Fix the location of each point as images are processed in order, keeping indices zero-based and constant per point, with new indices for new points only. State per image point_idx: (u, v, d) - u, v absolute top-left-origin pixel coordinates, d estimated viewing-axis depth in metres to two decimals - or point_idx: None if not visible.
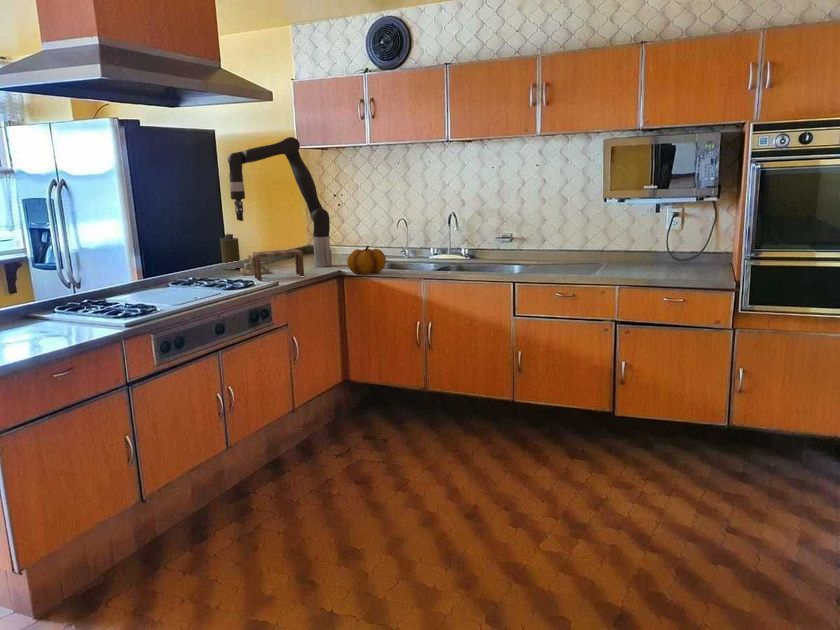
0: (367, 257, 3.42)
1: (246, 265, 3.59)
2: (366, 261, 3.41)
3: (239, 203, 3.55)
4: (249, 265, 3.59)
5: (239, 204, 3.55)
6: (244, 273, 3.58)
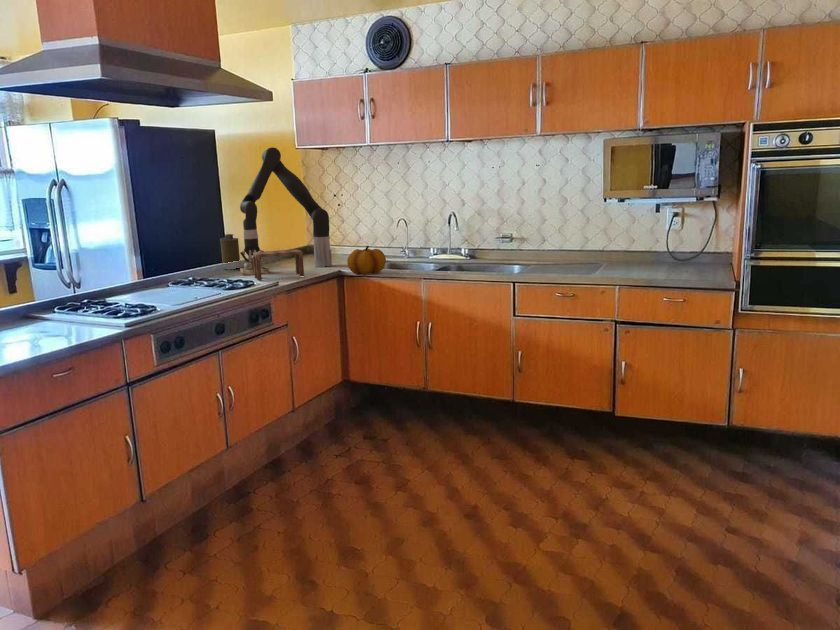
0: (367, 257, 3.42)
1: (246, 265, 3.59)
2: (366, 261, 3.41)
3: None
4: (249, 265, 3.59)
5: None
6: (244, 273, 3.58)
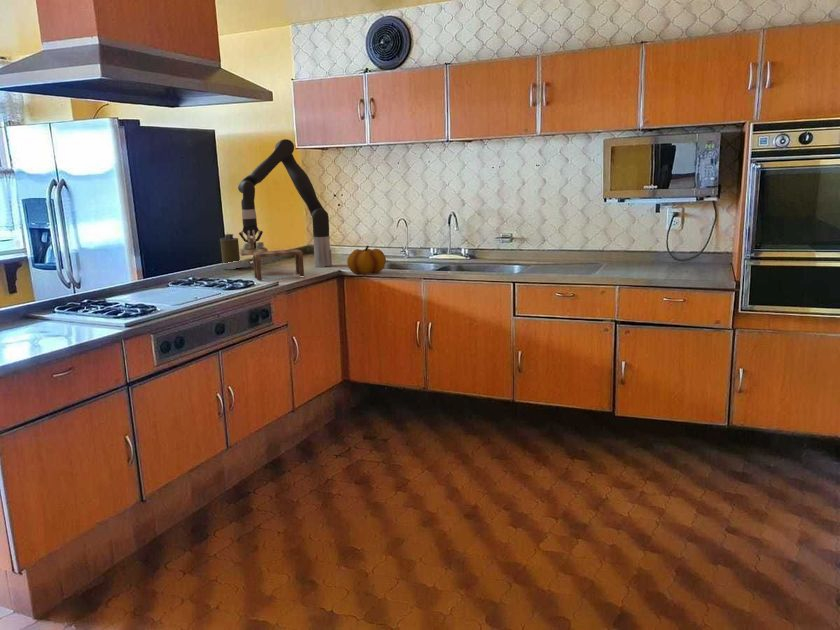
0: (367, 257, 3.42)
1: (245, 245, 3.56)
2: (366, 261, 3.41)
3: None
4: (248, 245, 3.57)
5: None
6: (243, 253, 3.56)
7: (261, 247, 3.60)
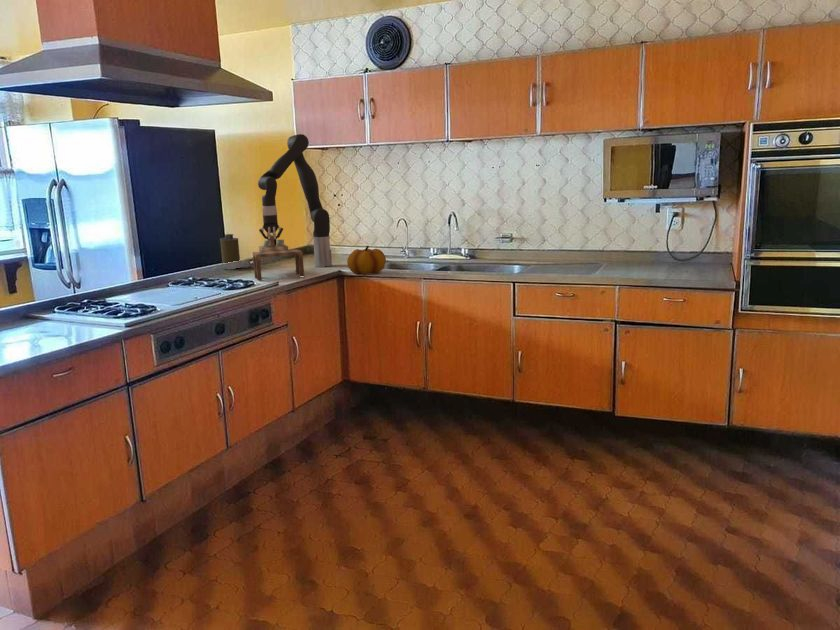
0: (367, 257, 3.42)
1: (265, 242, 3.52)
2: (366, 261, 3.41)
3: None
4: (268, 242, 3.52)
5: None
6: (263, 250, 3.51)
7: (281, 244, 3.55)
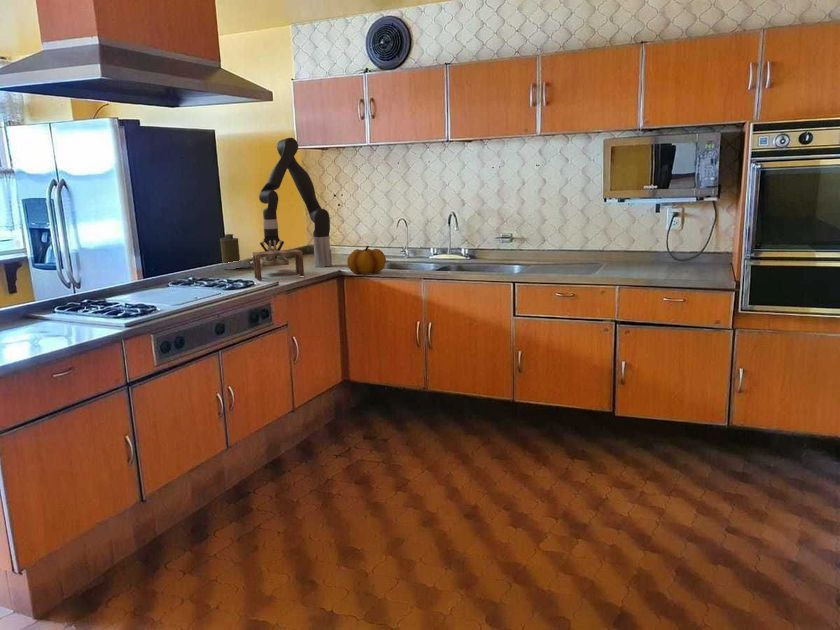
0: (367, 257, 3.42)
1: None
2: (366, 261, 3.41)
3: None
4: None
5: None
6: (264, 264, 3.52)
7: (282, 258, 3.56)
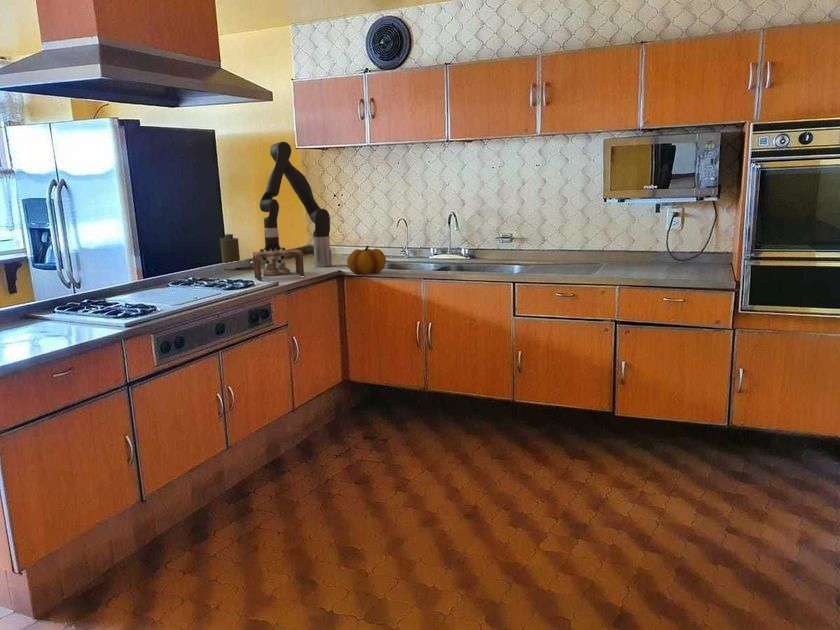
0: (367, 257, 3.42)
1: (267, 265, 3.54)
2: (366, 261, 3.41)
3: None
4: (270, 265, 3.55)
5: None
6: (265, 274, 3.54)
7: (283, 267, 3.57)
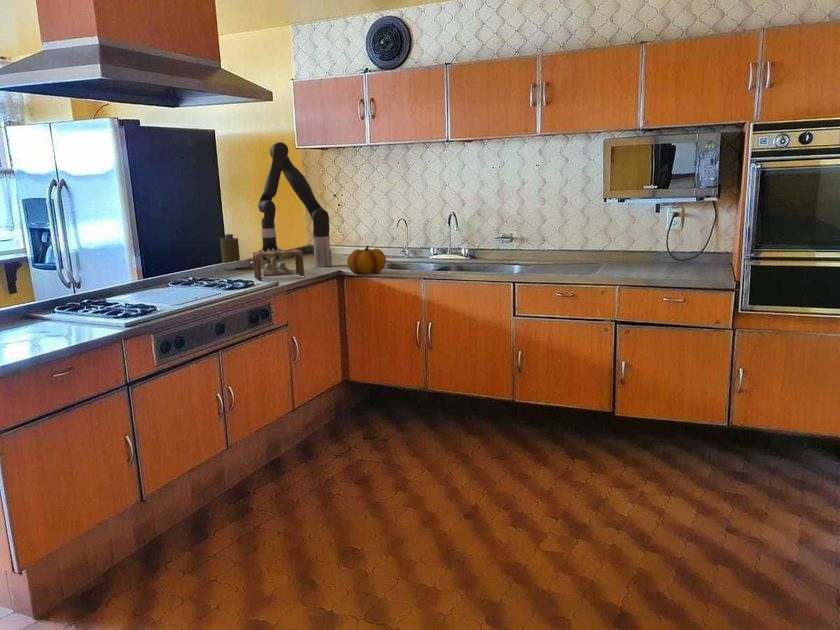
0: (367, 257, 3.42)
1: (267, 265, 3.54)
2: (366, 261, 3.41)
3: None
4: (270, 265, 3.55)
5: None
6: (265, 274, 3.54)
7: (283, 267, 3.57)
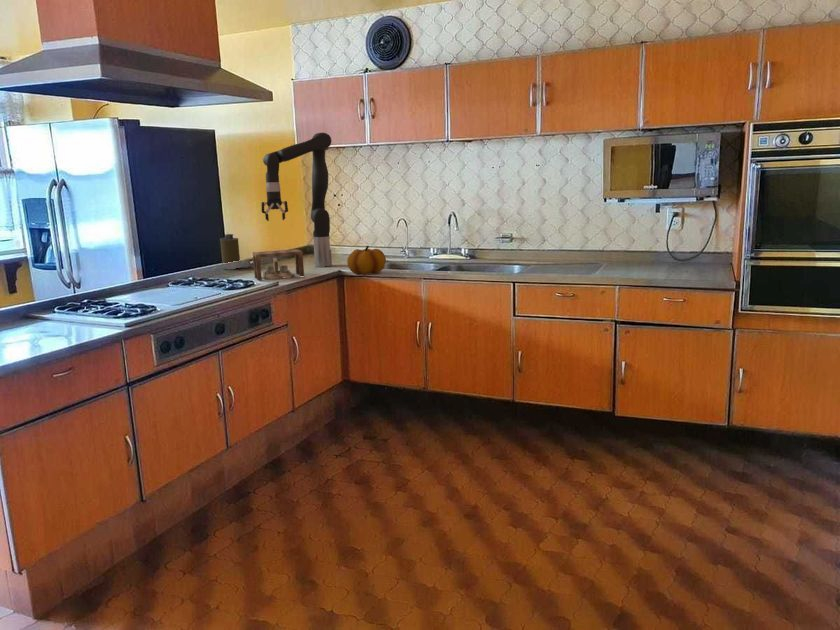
0: (367, 257, 3.42)
1: (268, 269, 3.43)
2: (366, 261, 3.41)
3: (286, 202, 3.66)
4: (271, 269, 3.43)
5: None
6: (265, 277, 3.42)
7: (285, 271, 3.45)
